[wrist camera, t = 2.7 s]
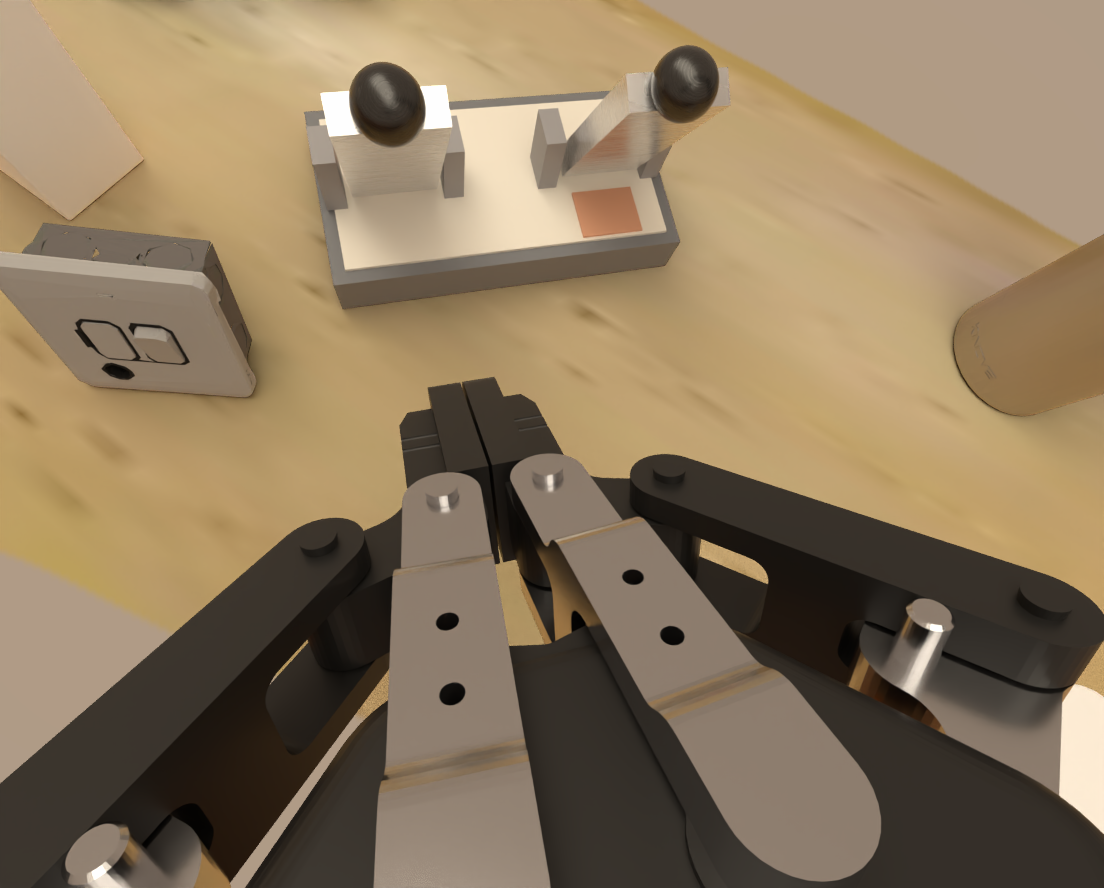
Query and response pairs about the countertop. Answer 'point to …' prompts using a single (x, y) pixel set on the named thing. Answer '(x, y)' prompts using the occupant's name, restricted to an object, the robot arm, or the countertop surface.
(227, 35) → the countertop surface
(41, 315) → the electrical switch
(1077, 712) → the spread jar
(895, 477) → the countertop surface
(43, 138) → the milk
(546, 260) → the switch panel
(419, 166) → the lever outer
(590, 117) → the lever inner
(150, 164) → the countertop surface
